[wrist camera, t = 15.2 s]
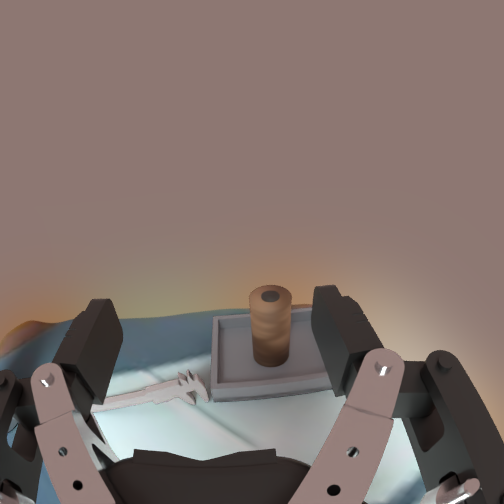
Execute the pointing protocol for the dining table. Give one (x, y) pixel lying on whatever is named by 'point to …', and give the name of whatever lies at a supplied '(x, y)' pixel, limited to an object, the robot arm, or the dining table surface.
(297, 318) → the tray
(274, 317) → the cylinder
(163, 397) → the caliper
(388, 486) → the dining table surface
